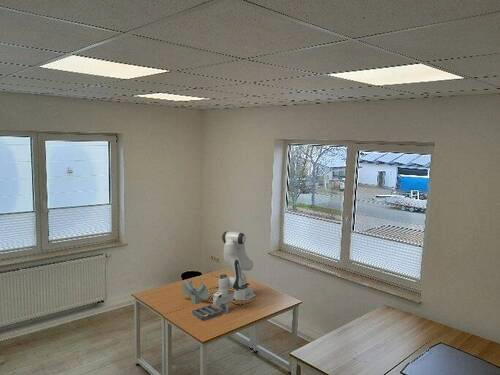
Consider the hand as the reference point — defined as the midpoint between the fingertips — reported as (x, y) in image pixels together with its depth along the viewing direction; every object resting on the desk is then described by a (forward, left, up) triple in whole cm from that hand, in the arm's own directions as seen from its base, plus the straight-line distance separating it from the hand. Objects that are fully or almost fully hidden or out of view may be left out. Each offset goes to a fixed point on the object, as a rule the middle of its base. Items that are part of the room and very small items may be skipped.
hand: (223, 308), depth 344 cm
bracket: (+10, -32, -3) cm, 34 cm away
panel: (0, 0, -3) cm, 3 cm away
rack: (+16, -3, -3) cm, 16 cm away
